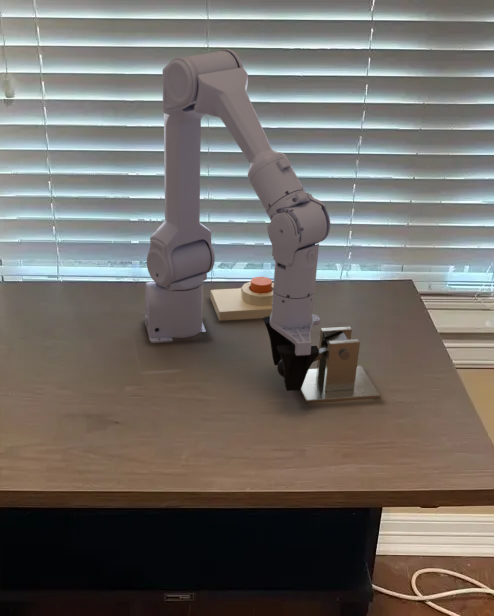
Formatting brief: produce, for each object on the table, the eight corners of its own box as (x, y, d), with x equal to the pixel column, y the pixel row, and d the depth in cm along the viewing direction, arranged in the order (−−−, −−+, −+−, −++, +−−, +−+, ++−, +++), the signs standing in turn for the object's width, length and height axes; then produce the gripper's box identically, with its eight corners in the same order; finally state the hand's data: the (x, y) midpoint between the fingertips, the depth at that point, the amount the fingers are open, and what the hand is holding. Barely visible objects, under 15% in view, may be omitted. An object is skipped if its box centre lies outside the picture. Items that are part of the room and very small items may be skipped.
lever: (283, 384, 134) (277, 368, 132) (278, 374, 136) (272, 358, 135) (353, 355, 133) (348, 338, 131) (347, 345, 135) (342, 329, 133)
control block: (219, 321, 156) (219, 302, 154) (210, 298, 163) (210, 280, 161) (288, 316, 157) (290, 297, 155) (276, 294, 164) (277, 276, 162)
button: (252, 295, 157) (253, 285, 156) (248, 286, 160) (248, 277, 159) (273, 294, 157) (274, 284, 156) (268, 285, 160) (269, 276, 159)
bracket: (305, 406, 133) (311, 352, 128) (290, 375, 140) (295, 323, 135) (379, 400, 134) (387, 346, 129) (360, 370, 142) (367, 318, 136)
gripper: (336, 310, 122) (326, 399, 129) (308, 267, 133) (301, 351, 141) (284, 314, 121) (277, 402, 129) (261, 270, 133) (256, 354, 140)
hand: (286, 376), depth 135 cm, fingers open, 7 cm apart
